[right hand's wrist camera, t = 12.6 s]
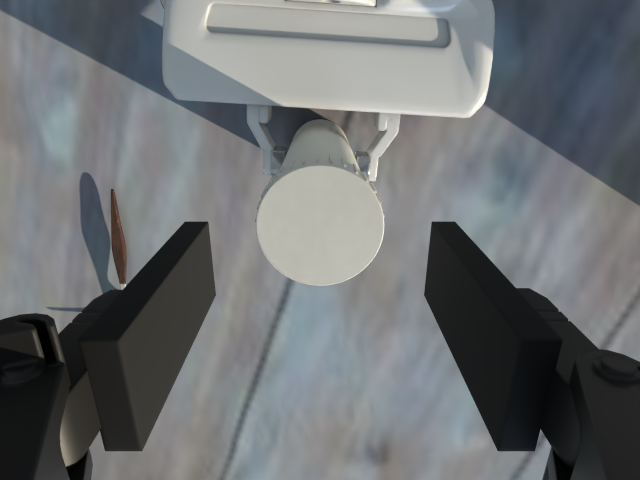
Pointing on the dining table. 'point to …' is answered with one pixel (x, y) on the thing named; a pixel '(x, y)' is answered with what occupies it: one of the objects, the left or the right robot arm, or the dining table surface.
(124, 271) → the fork
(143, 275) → the right robot arm
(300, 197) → the lid
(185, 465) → the dining table surface
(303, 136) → the white plastic cylinder
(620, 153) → the dining table surface
